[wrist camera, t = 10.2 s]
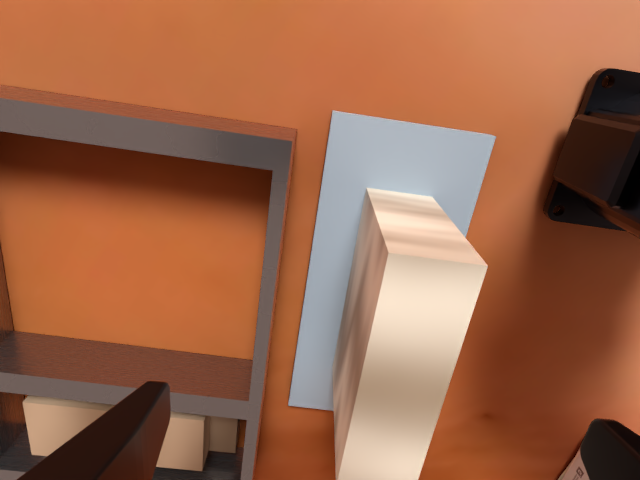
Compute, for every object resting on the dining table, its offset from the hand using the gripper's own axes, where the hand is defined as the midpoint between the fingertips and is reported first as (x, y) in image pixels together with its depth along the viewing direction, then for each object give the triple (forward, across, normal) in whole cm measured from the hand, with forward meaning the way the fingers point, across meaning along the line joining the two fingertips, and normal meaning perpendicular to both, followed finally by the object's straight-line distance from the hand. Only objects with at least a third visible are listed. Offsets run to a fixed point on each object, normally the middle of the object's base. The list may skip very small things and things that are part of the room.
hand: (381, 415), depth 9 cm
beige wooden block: (+12, -2, +3) cm, 12 cm away
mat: (+12, -2, +3) cm, 13 cm away
